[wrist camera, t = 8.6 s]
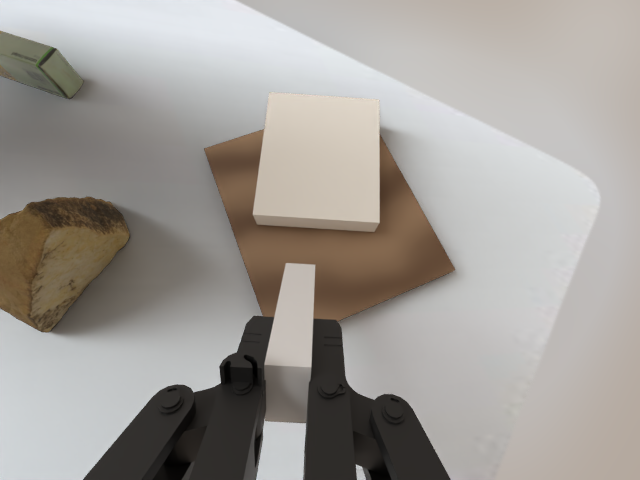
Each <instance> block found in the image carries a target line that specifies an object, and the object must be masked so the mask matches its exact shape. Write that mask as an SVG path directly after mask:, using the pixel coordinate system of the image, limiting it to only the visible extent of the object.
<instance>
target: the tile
mask: <svg viewBox="0 0 640 480" xmlns="http://www.w3.org/2000/svg"><path fill="white" fill-rule="evenodd" d="M253 216H254V219H255V221H256V223H257V225H271V226H287V227H302V228H318V229H334V230H349V231H365V232H375V230H376V228H377V226H378V225H379V223H380V147H379V99H363V98H348V97H333V96H318V95H303V94H288V93H273V92H269V98H268V106H267V113H266V120H265V128H264V135H263V142H262V150H261V157H260V164H259V172H258V179H257V186H256V194H255V201H254V208H253Z"/></svg>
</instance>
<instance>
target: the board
mask: <svg viewBox="0 0 640 480" xmlns="http://www.w3.org/2000/svg"><path fill="white" fill-rule="evenodd" d="M263 135H264V129H263V130H260V131H257V132H254V133H251V134H248V135H244V136H241V137H238V138H235V139H232V140H229V141H226V142H223V143H220V144H217V145H214V146H211V147H208V148H205V149H204V150H205V153H206V156H207V159H208V162H209V164H210V167H211V170H212V173H213V176H214V179H215V181H216V184H217V187H218V190H219V193H220V196H221V198H222V201H223V204H224V207H225V210H226V213H227V215H228V218H229V221H230V224H231V227H232V230H233V232H234V235H235V238H236V241H237V244H238V247H239V249H240V252H241V255H242V258H243V261H244V264H245V267H246V269H247V272H248V275H249V278H250V281H251V284H252V286H253V289H254V292H255V295H256V298H257V301H258V303H259V306H260V309H261V312H262V315H263V316H264V317H275V312H276V307H277V302H278V298H279V293H280V288H281V284H282V279H283V274H284V269H285V265H286V263H296V264H313V265H315V286H314V312H313V318H314V319H332V320H336V321H340V320H342V319H344V318H347V317H349V316H351V315H353V314H356V313H358V312H360V311H363V310H365V309H367V308H370V307H372V306H374V305H377V304H379V303H381V302H383V301H386V300H388V299H390V298H393V297H395V296H397V295H400V294H402V293H404V292H407V291H409V290H411V289H414V288H416V287H418V286H420V285H423V284H425V283H427V282H430V281H432V280H434V279H437V278H439V277H441V276H444V275H446V274H448V273H450V272H452V271H454V270H455V268H454V266H453V265H452V263H451V261H450V259H449V258H448V256H447V254H446V252H445V250H444V249H443V247H442V245H441V243H440V241H439V240H438V238H437V236H436V234H435V232H434V231H433V229H432V227H431V225H430V223H429V222H428V220H427V218H426V216H425V214H424V213H423V211H422V209H421V207H420V205H419V204H418V202H417V200H416V198H415V196H414V195H413V193H412V191H411V189H410V188H409V186H408V184H407V182H406V180H405V179H404V177H403V175H402V173H401V171H400V170H399V168H398V166H397V164H396V162H395V161H394V159H393V157H392V155H391V153H390V152H389V150H388V148H387V146H386V144H385V143H384V141H383V139H382V137H381V135H380V134H379V147H380V223H379V225H378V226H377V228H376V230H375V232H365V231H349V230H334V229H318V228H302V227H287V226H271V225H257V223H256V221H255V219H254V216H253V208H254V201H255V194H256V186H257V179H258V172H259V164H260V157H261V150H262V142H263Z"/></svg>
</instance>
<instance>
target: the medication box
mask: <svg viewBox="0 0 640 480" xmlns="http://www.w3.org/2000/svg"><path fill="white" fill-rule="evenodd" d="M0 76H2V77H5V78H8V79H11V80H14V81H17V82H20V83H23V84H26V85H29V86H32V87H35V88H37V89H40V90H43V91H46V92H49V93H52V94H55V95H58V96H61V97H64V98H67V99H71V98H72V97H73V96H74V95H75V94H76V93H77V92H78V90H79V89H80V87H81V86H82V84H83V80H82V79H81V78H80V76H79V75H78V74H77V73H76V72H75V70H74V69H73V68H72V67H71V65H70V64H69V63H68V62H67V60H66V59H65V58H64V57H63V56H62V54H61V53H60V52H59V50H57V49H56V48H53V47H50V46H47V45H44V44H41V43H37V42H34V41H31V40H28V39H25V38H22V37H18V36H15V35H12V34H9V33H6V32H3V31H0Z"/></svg>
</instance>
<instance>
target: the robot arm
mask: <svg viewBox="0 0 640 480" xmlns="http://www.w3.org/2000/svg"><path fill="white" fill-rule="evenodd" d="M314 286H315V265H313V264H296V263H286V265H285V269H284V274H283V279H282V284H281V288H280V293H279V298H278V302H277V307H276V312H275V317H264V316H253V317H252V318H251V319H250V321H249V322H248V323H247V324H246V326H245V330H244V333H243V336H242V339H241V343H240V345H239V348H238V351H237V353H234V354H232V355H229V356H228V357H227V358H225V359H224V360H223V361H222V363H221V365H220V376H221V384H219V385H217V386H215V387H213V388H210V389H207V390H202V391H198V392H194V393H193V391H192V390H191V388H189V387H187V386H185V385H172V386H168V387H166V388H164V389H162V390H160V391H159V392H158V393H157V394H156V395H154V396H153V397H152V398H151V400H150V401H149V402H148V403H147V404H146V406H145V407H144V408H143V409H142V410H141V411H140V413H139V414H138V415H137V416H136V417H135V419H134V420H133V421H132V422H131V423H130V424H129V426H128V427H127V428H126V429H125V430H124V432H123V433H122V434H121V435H120V436H119V437H118V439H117V440H116V441H115V442H114V443H113V445H112V446H111V447H110V448H109V449H108V451H107V452H106V453H105V454H104V455H103V456H102V458H101V459H100V460H99V461H98V462H97V464H96V465H95V466H94V467H93V468H92V469H91V471H90V472H89V473H88V474H87V475H86V477H85V478H84V479H83V480H256V477H257V471H258V465H259V459H260V453H261V447H262V441H263V424H264V419H265V421H273V422H293V423H306V437H305V451H304V453H305V456H304V475H303V480H357V476H356V465H355V464H357V465H359V466H362V467H363V471H364V474H365V477H366V480H450V478H449V476H448V474H447V472H446V470H445V468H444V467H443V465H442V463H441V461H440V459H439V457H438V455H437V454H436V452H435V450H434V448H433V446H432V444H431V443H430V441H429V439H428V437H427V435H426V433H425V431H424V430H423V428H422V426H421V424H420V422H419V420H418V418H417V417H416V415H415V413H414V411H413V409H412V408H411V407H410V405H409V404H408V403H407V402H406V401H405V400H403V399H402V398H401V397H398V396H395V395H393V394H384V395H381V396H379V397H377V398H376V399H375V400H373V399H370V398H367V397H364V396H362V395H360V394H358V393H357V392H355V391H354V390H353V389H352V388H351V387H350V386H349V385H348V383H347V381H346V377H345V367H344V355H343V342H342V330H341V327H340V325H339V324H338V322H337V321H336V320H332V319H314V318H313V312H314Z"/></svg>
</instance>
